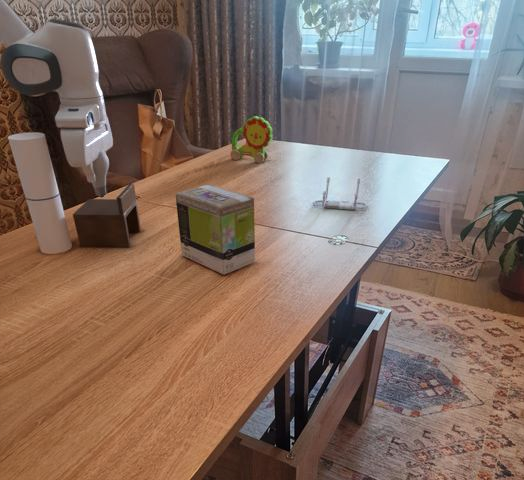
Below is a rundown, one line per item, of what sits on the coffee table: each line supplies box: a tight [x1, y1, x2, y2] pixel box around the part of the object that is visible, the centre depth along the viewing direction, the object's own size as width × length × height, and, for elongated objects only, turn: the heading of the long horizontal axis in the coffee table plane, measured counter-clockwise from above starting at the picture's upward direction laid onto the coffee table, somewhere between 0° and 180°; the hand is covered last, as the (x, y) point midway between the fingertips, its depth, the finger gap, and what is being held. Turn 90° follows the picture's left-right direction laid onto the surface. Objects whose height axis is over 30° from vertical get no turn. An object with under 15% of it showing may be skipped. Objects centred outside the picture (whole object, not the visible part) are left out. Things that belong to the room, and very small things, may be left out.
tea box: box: [175, 183, 256, 276], centre depth 105 cm, size 15×10×15 cm
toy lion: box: [230, 115, 274, 164], centre depth 176 cm, size 16×5×15 cm, turn 66°
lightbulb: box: [91, 151, 110, 198], centre depth 111 cm, size 6×6×11 cm
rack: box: [72, 182, 142, 249], centre depth 116 cm, size 12×11×12 cm
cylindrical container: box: [7, 131, 73, 255], centre depth 108 cm, size 7×7×25 cm
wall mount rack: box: [312, 176, 368, 211], centre depth 138 cm, size 16×14×6 cm
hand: (97, 177), depth 111 cm, fingers closed on lightbulb, 6 cm apart
